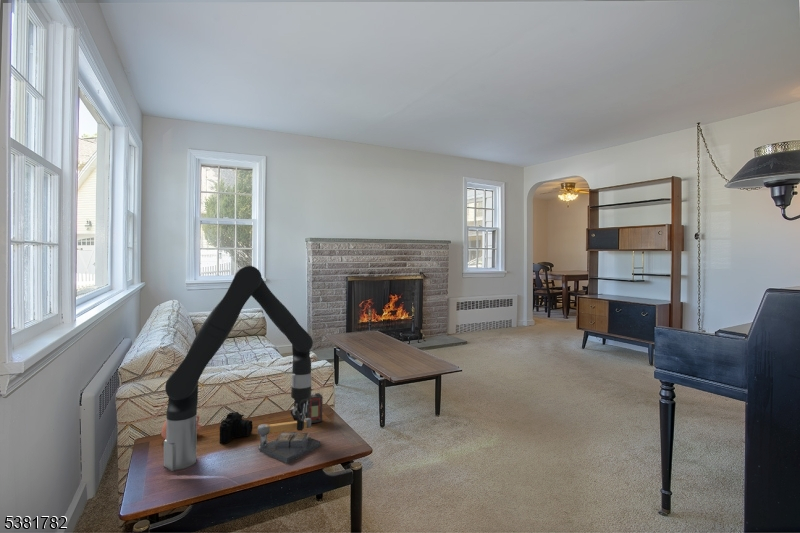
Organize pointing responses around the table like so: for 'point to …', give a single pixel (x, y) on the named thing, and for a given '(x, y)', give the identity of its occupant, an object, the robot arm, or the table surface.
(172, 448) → the robot arm
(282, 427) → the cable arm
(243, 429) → the film camera
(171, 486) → the table surface
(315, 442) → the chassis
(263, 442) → the post
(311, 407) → the walkie-talkie
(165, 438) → the sugar bowl
